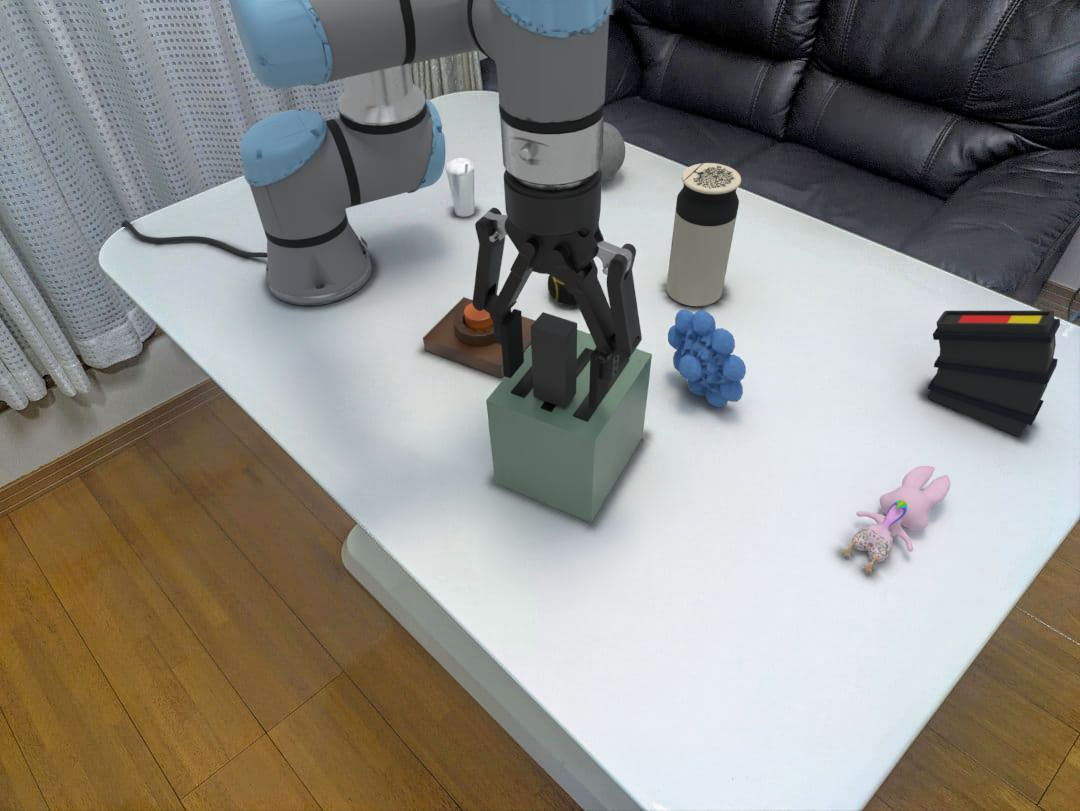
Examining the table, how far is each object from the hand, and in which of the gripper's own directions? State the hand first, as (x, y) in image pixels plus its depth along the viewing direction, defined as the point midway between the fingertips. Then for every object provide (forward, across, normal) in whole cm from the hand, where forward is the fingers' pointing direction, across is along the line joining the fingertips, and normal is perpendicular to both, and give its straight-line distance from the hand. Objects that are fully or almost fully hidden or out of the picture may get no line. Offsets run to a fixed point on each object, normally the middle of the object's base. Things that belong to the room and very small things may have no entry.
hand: (555, 383), depth 72 cm
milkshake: (+15, -40, +44) cm, 61 cm away
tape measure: (+15, -14, +32) cm, 38 cm away
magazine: (+15, +39, +33) cm, 53 cm away
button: (+11, -20, +17) cm, 28 cm away
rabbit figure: (+15, +34, +11) cm, 39 cm away
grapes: (+15, +9, +20) cm, 26 cm away
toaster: (+15, 0, +4) cm, 15 cm away
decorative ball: (+15, -26, +64) cm, 70 cm away
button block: (+15, -20, +16) cm, 30 cm away
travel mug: (+15, +1, +40) cm, 43 cm away
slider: (+2, 0, 0) cm, 2 cm away
